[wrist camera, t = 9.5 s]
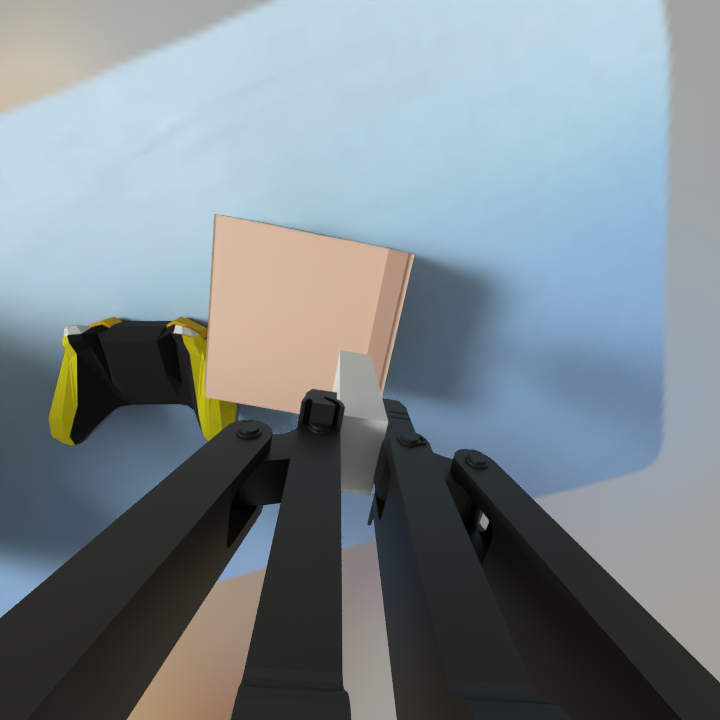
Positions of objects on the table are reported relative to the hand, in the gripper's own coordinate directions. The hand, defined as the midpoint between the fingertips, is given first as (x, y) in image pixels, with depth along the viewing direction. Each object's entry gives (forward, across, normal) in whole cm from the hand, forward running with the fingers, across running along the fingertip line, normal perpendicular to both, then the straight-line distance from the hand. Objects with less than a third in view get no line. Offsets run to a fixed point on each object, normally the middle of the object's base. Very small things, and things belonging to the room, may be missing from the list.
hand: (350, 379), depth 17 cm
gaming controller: (+16, -16, -8) cm, 24 cm away
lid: (+8, -3, 0) cm, 8 cm away
